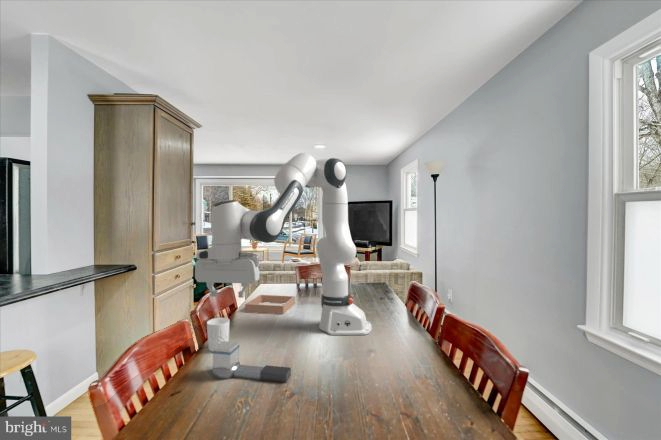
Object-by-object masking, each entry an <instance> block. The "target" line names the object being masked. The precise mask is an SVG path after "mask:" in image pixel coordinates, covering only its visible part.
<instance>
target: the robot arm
mask: <svg viewBox="0 0 661 440" xmlns="http://www.w3.org/2000/svg"><path fill="white" fill-rule="evenodd" d="M274 176H275V177H273V178H274V180H273V181H274V186H275V189H276V190H277V192H278V193H279V196H278V197H277V198H276V200H275V201H274V203H273V204H272V205H271V206H270V207H268V208H265V209H262V210H252V209H249V208H247V207H246V206H243V205H242V204H241V203H239V201H238V200H236V199H230V200H222V201H218V202H216V203H215V204H213V205H212V209H211V214H210V215H211V216H210V230H211V235H212V238H211V239H212V240H211V242H210V243H211V246H210V247H209V248H206V249H204V250H201V251H198V252H196V254H195V255H196V256H195V257H196V259H197V260H196V262H195V265H194V266H195V267H194V279H195V280H196V281H197V283H206V287H207V289H208V291H209V295H210V297H214V298H215V297H217V296H218V289H215V287H214V285H215V284H216V283H219V284H220V283H221V284H226V283H227V284H240V285H241V287H242V289H241V290H240V291H238V292H237V293H238V298H245V297H246V290H247V289H248V288H249V284H251V285H252V284H255V283H257V282H258V281H260V278H261V277H260V269H259V263H260V261H259V257H258V255H257V254H255V253H254V252H242V240H250V241H256V242H257V241H258V242H262V243H266V244H269V243H273V242H275V241H277V239H279V237H280V236H281V234H282V232H283V230H284V227H285V223H287V219H288V218H289V216H290V215H291V213H292V212H293V210H294V209H295V208H296V206H297V204H298V203H299V201H300V199H301V197H302V195H303V191H304V189H305V188H310V189H312V188H320V189H321V190H322V198H321V219H322V221H321V222H322V225H323V227H324V232H325V236H323V237H321V238H320V239H319V240H318V241H317V243H316V245H315V247H316V248H315V249H316V252H317V255H318V259H319V265H320V271H321V278H322V294H321V297H320V298H321V299H320V300H321V301H320V303H321V304H320V305H321V316H320V322H319V326H318V328H319V330H320V331H323V332H325V333H327V334H328V335H331V336H345V335H346V336H348V335H349V336H354V335H355V336H357V335H358V336H360V335H361V336H364V335H368V334H369V333H371V331H372V328H373V327H372V323H371V322H370V321H368V320H367V317H366V313H365V312H364V310H362V309H361V308H360V307H359V306H357V305H356V304H354V303H353V302H354V296H353V294H349V274H348V273H347V271H346V268H345V265H346V264H350V263H351V262H353V261H354V259H355V258H356V256H357V246H356V245H355V243H354V242H353V239H352V235H351V231H350V226H349V205H348V203H349V200H348V196H349V195H348V190H347V185H346V182H345V180H346V179H347V178H346V177H347V167H346V165H345V163H344V162H343V161H342V160H341V159H340V158H335V157H330V158H322V159H317V160H316V159H315V158H314V157H313V156H312V155H311V154H310V153H306V152H300V153H297V154H296V155H295V156H293V157H291V158H290V159H289V160H288V161H287V162H286V163H284V164H283V165H282V167H281V168H280V169H279V170H278V171H277V173H276V174H275V175H274Z"/></svg>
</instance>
